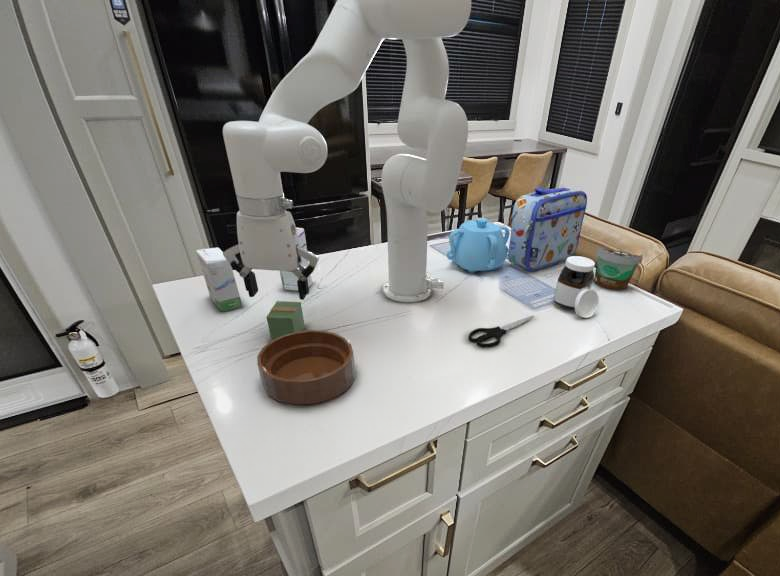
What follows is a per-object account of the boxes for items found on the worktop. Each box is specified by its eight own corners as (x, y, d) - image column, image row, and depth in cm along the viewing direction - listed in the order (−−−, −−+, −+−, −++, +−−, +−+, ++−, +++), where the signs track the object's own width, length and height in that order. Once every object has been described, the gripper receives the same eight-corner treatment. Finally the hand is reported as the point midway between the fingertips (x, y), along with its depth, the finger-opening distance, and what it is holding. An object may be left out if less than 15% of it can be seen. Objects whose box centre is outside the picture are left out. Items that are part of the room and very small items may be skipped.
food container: (586, 286, 118) (596, 251, 112) (588, 278, 122) (598, 244, 116) (631, 295, 114) (644, 260, 108) (632, 287, 119) (644, 253, 113)
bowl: (360, 355, 84) (358, 331, 81) (347, 408, 71) (344, 383, 68) (279, 352, 83) (273, 328, 80) (250, 405, 70) (243, 379, 67)
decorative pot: (490, 281, 116) (497, 232, 108) (440, 267, 122) (443, 220, 113) (511, 263, 128) (519, 218, 120) (465, 251, 133) (469, 207, 125)
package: (305, 326, 92) (300, 301, 88) (296, 343, 86) (291, 317, 82) (282, 325, 91) (276, 300, 88) (272, 342, 86) (266, 316, 82)
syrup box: (313, 283, 109) (304, 227, 100) (304, 293, 104) (295, 235, 95) (291, 281, 109) (281, 224, 100) (282, 290, 104) (270, 232, 95)
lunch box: (525, 278, 119) (540, 197, 106) (498, 267, 125) (509, 188, 112) (578, 258, 135) (597, 185, 121) (552, 248, 141) (567, 177, 127)
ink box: (243, 307, 97) (230, 258, 89) (221, 312, 94) (205, 262, 87) (231, 293, 102) (218, 245, 94) (210, 298, 99) (194, 249, 92)
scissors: (521, 311, 103) (463, 337, 92) (521, 308, 102) (463, 334, 91) (542, 322, 99) (485, 351, 88) (543, 319, 98) (485, 347, 87)
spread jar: (563, 293, 113) (573, 251, 106) (603, 306, 108) (617, 263, 101) (544, 309, 105) (554, 264, 98) (587, 324, 100) (600, 278, 93)
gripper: (317, 203, 76) (326, 290, 86) (219, 196, 75) (241, 285, 85) (307, 214, 70) (318, 306, 80) (201, 207, 69) (226, 301, 79)
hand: (278, 295), depth 83 cm, fingers open, 9 cm apart
